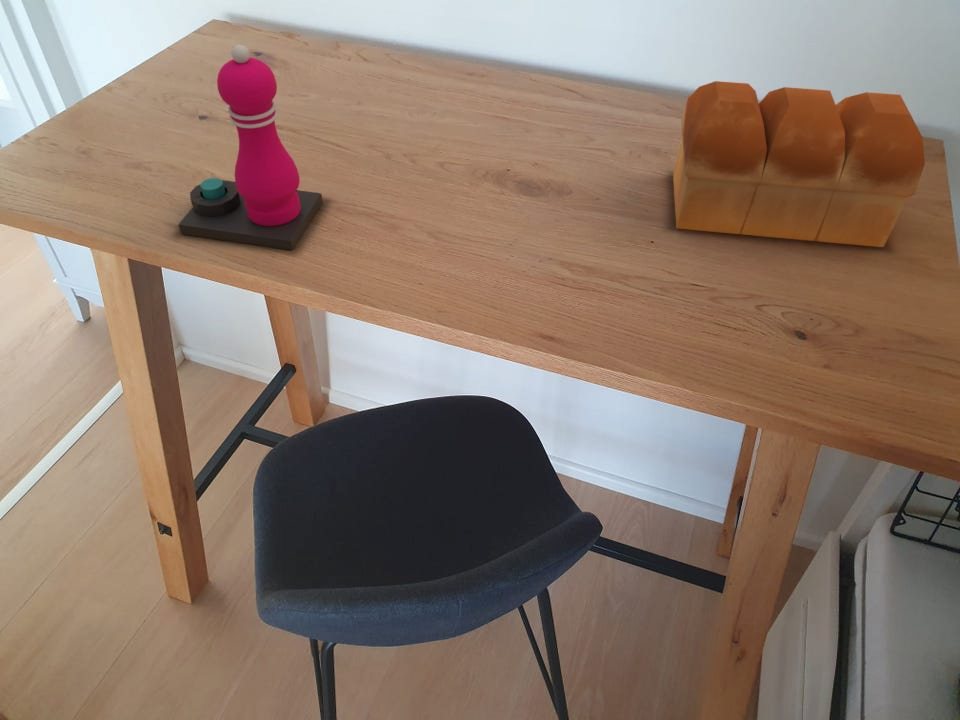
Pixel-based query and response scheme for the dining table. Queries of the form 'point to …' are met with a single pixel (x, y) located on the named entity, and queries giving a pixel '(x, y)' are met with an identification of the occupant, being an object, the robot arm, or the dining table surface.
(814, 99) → the bread
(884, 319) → the dining table surface
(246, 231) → the dark button base
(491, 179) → the dining table surface
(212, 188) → the button
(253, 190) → the pepper mill
